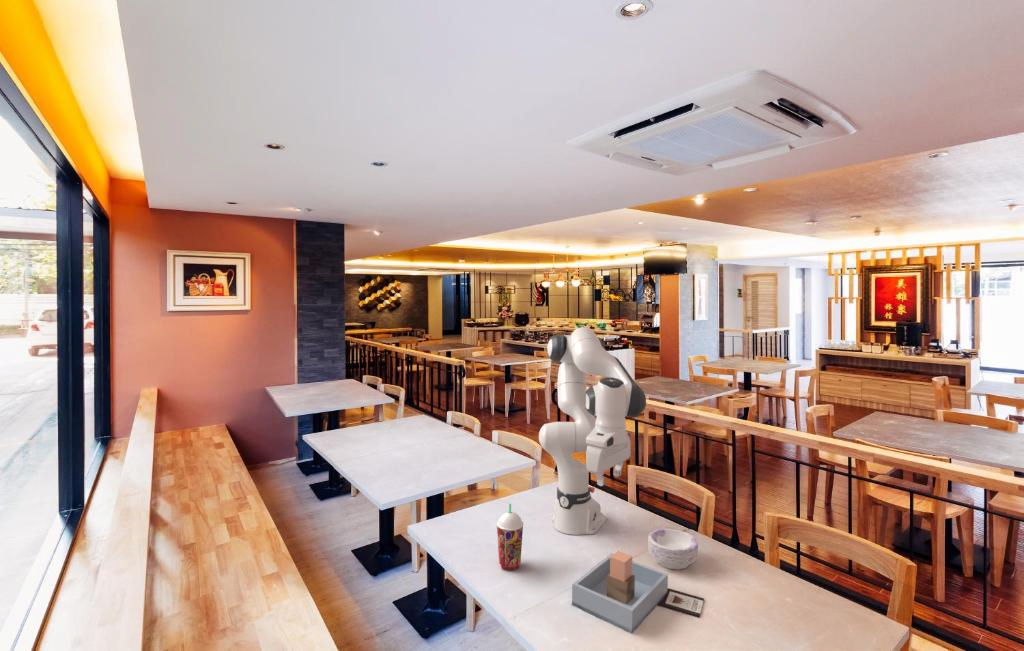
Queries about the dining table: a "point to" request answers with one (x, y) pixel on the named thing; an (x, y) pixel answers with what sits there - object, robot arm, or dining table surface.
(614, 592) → the walnut block
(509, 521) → the smoothie
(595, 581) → the tote
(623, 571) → the terracotta box
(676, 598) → the chocolate bar
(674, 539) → the paper bowls
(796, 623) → the dining table surface
